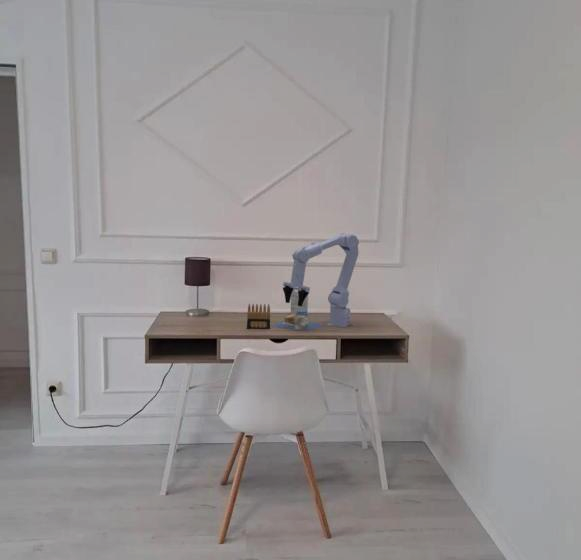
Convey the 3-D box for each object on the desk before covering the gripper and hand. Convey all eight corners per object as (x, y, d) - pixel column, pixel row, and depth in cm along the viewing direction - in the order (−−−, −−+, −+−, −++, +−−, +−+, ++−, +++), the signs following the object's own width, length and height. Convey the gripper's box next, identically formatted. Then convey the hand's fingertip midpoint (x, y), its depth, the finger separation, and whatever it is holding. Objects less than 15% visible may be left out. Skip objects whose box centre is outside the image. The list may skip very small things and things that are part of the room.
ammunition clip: (246, 329, 236) (247, 303, 235) (246, 328, 238) (247, 303, 236) (270, 330, 237) (270, 304, 235) (270, 329, 238) (270, 303, 237)
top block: (308, 328, 240) (308, 317, 239) (303, 330, 236) (304, 319, 235) (299, 327, 242) (299, 316, 241) (294, 329, 238) (295, 318, 237)
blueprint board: (324, 325, 250) (324, 323, 250) (308, 332, 234) (308, 331, 234) (287, 320, 259) (287, 318, 258) (269, 327, 243) (269, 325, 243)
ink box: (307, 316, 268) (308, 288, 266) (300, 317, 265) (301, 289, 263) (297, 313, 275) (298, 286, 273) (290, 314, 272) (290, 286, 270)
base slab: (306, 322, 253) (306, 316, 252) (299, 325, 246) (299, 319, 245) (291, 320, 256) (292, 314, 256) (284, 323, 249) (284, 317, 249)
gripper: (280, 272, 240) (276, 301, 241) (304, 277, 230) (299, 307, 232) (290, 273, 245) (286, 301, 246) (314, 278, 236) (309, 307, 237)
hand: (293, 304), depth 239 cm, fingers open, 7 cm apart
